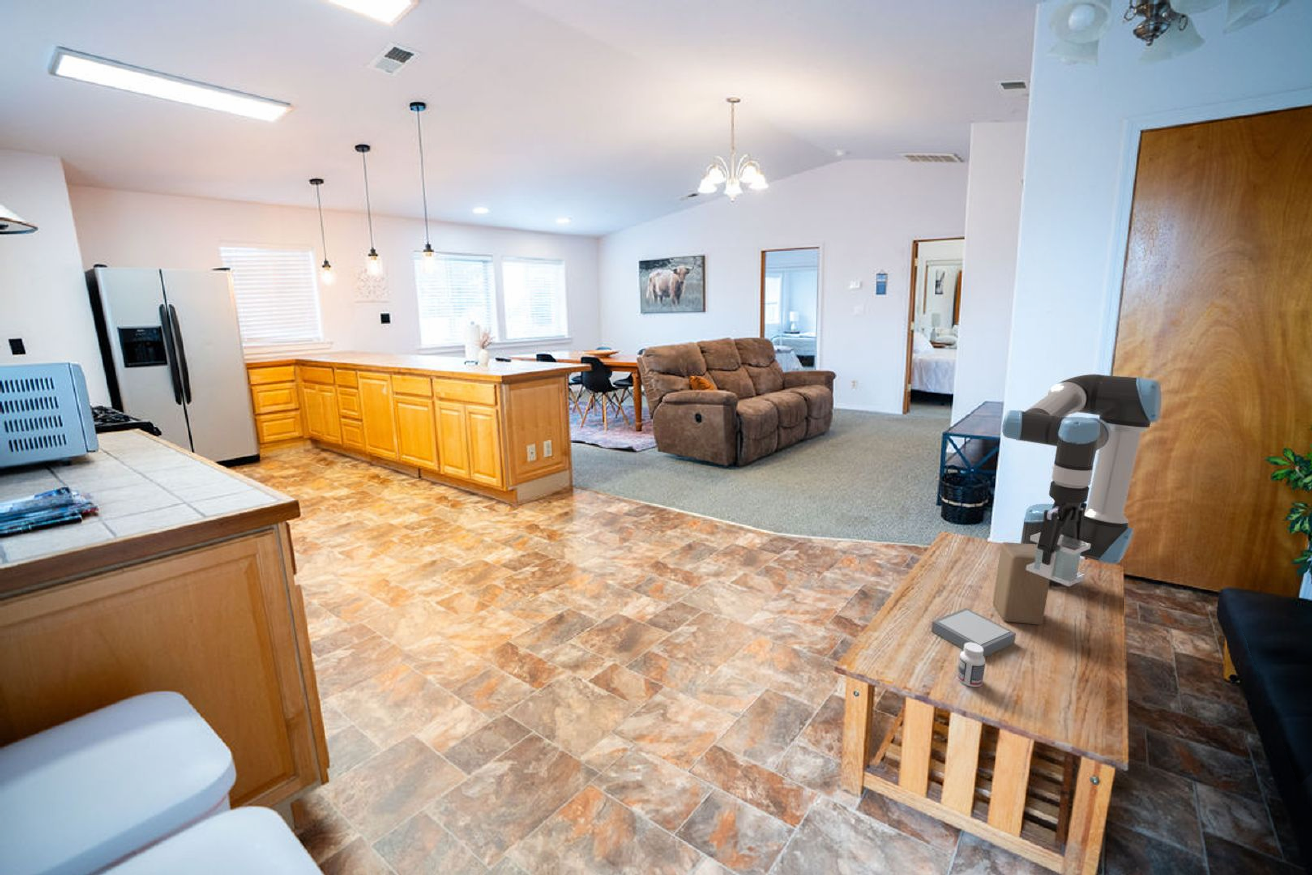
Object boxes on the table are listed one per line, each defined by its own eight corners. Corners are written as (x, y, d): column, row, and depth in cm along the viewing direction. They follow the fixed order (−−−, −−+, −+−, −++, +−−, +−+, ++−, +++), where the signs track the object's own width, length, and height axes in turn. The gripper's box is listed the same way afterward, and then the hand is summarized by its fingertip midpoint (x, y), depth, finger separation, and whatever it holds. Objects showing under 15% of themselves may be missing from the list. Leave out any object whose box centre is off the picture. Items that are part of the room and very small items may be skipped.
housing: (1042, 563, 152) (1046, 529, 149) (1084, 579, 143) (1090, 543, 141) (1025, 569, 148) (1030, 535, 146) (1068, 586, 140) (1074, 550, 138)
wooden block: (1043, 626, 161) (1055, 558, 156) (1003, 622, 163) (1013, 555, 158) (1028, 607, 171) (1039, 543, 166) (991, 604, 173) (1000, 540, 168)
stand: (964, 617, 166) (966, 607, 165) (1014, 643, 154) (1016, 632, 153) (931, 631, 159) (932, 620, 159) (980, 659, 147) (981, 647, 147)
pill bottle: (984, 679, 140) (989, 646, 138) (978, 690, 136) (983, 656, 134) (960, 670, 143) (965, 637, 141) (954, 680, 139) (958, 647, 137)
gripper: (1076, 472, 147) (1062, 556, 153) (1028, 485, 138) (1015, 574, 144) (1110, 480, 141) (1094, 568, 147) (1062, 495, 132) (1046, 588, 138)
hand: (1054, 571), depth 146 cm, fingers closed on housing, 7 cm apart
